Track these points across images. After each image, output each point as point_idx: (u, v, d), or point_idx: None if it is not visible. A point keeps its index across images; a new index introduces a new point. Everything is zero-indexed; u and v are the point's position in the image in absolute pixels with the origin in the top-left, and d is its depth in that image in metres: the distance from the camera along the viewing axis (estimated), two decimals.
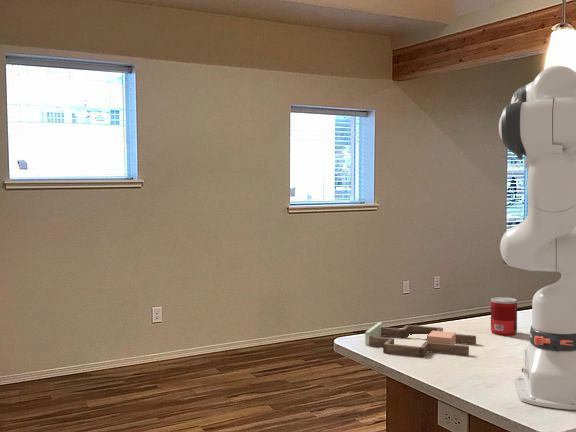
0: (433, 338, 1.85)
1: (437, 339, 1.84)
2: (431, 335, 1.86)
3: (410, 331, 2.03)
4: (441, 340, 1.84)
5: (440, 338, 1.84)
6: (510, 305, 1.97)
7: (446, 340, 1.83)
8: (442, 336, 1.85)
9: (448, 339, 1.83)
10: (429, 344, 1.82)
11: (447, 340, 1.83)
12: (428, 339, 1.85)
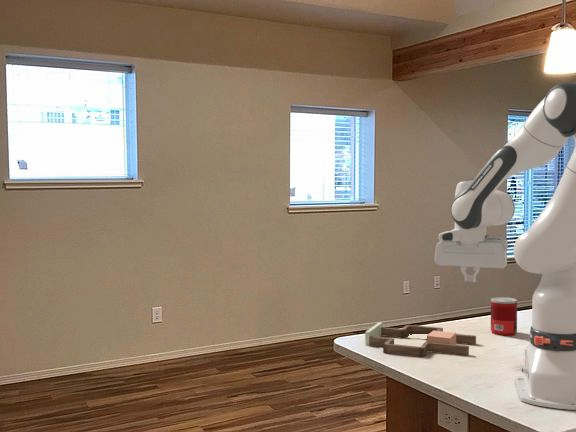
0: (432, 338, 1.85)
1: (436, 339, 1.84)
2: (431, 335, 1.86)
3: (410, 331, 2.03)
4: (440, 340, 1.84)
5: (439, 338, 1.84)
6: (510, 305, 1.97)
7: (445, 340, 1.83)
8: (442, 336, 1.85)
9: (447, 339, 1.83)
10: (429, 344, 1.82)
11: (446, 340, 1.83)
12: (428, 339, 1.86)
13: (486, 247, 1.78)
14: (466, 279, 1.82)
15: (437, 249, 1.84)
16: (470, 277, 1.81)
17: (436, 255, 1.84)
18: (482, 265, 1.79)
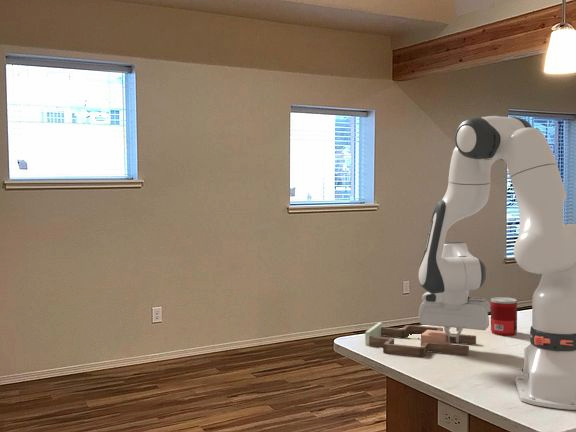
0: (426, 337, 1.86)
1: (430, 338, 1.85)
2: (425, 334, 1.87)
3: (410, 331, 2.03)
4: (434, 339, 1.84)
5: (433, 337, 1.85)
6: (510, 305, 1.97)
7: (439, 339, 1.84)
8: (436, 335, 1.85)
9: (441, 338, 1.83)
10: (429, 344, 1.82)
11: (440, 339, 1.84)
12: (422, 338, 1.86)
13: (468, 309, 1.82)
14: (449, 339, 1.86)
15: (421, 309, 1.87)
16: (453, 337, 1.85)
17: (420, 315, 1.88)
18: (465, 326, 1.82)
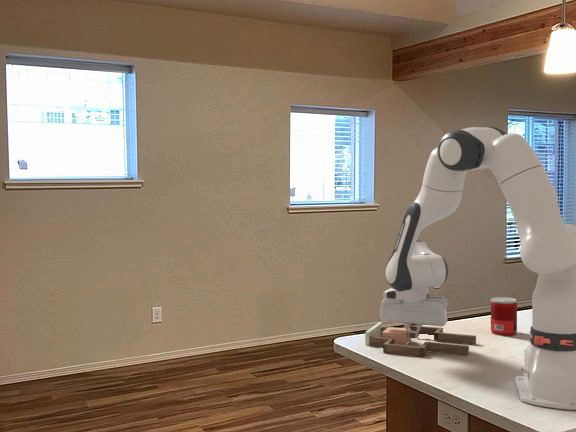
0: (388, 334, 1.90)
1: (392, 335, 1.90)
2: (386, 331, 1.92)
3: None
4: (395, 336, 1.89)
5: (394, 334, 1.89)
6: (510, 305, 1.97)
7: (400, 336, 1.89)
8: (396, 332, 1.90)
9: (402, 335, 1.88)
10: (429, 344, 1.82)
11: (401, 336, 1.89)
12: (383, 335, 1.91)
13: (427, 306, 1.87)
14: (409, 335, 1.91)
15: (382, 306, 1.93)
16: (413, 333, 1.90)
17: (381, 311, 1.93)
18: (423, 323, 1.88)
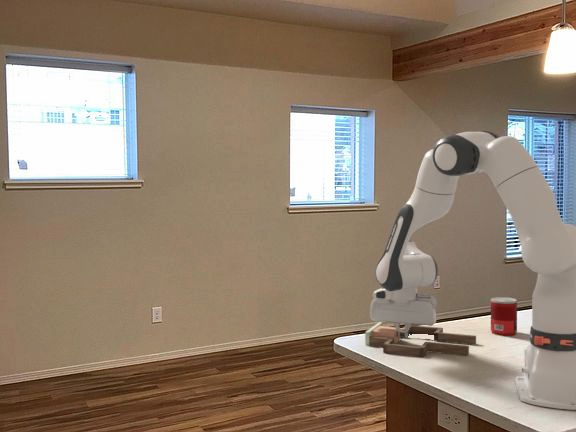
0: (377, 333, 1.92)
1: (381, 334, 1.91)
2: (376, 330, 1.93)
3: (410, 331, 2.03)
4: (385, 335, 1.91)
5: (384, 333, 1.91)
6: (510, 305, 1.97)
7: (389, 335, 1.90)
8: (386, 331, 1.92)
9: (391, 334, 1.90)
10: (429, 344, 1.82)
11: (390, 335, 1.90)
12: (373, 334, 1.92)
13: (416, 305, 1.88)
14: (399, 335, 1.92)
15: (372, 306, 1.94)
16: (402, 333, 1.92)
17: (371, 311, 1.94)
18: (413, 322, 1.89)
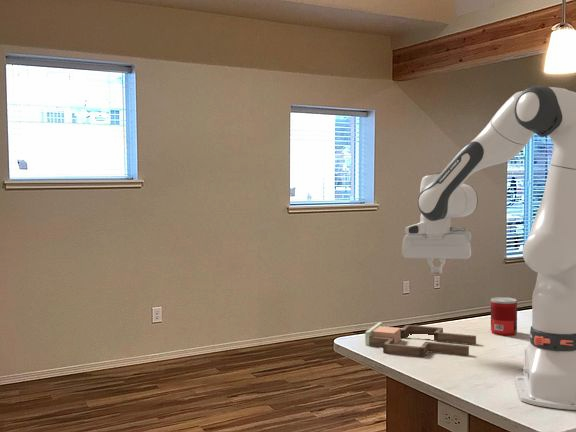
0: (377, 333, 1.92)
1: (381, 334, 1.91)
2: (376, 330, 1.93)
3: (410, 331, 2.03)
4: (385, 335, 1.91)
5: (384, 333, 1.91)
6: (510, 305, 1.97)
7: (390, 335, 1.90)
8: (386, 331, 1.92)
9: (391, 334, 1.90)
10: (429, 344, 1.82)
11: (390, 335, 1.90)
12: (373, 334, 1.93)
13: (451, 239, 1.83)
14: (433, 270, 1.87)
15: (404, 242, 1.89)
16: (436, 268, 1.87)
17: (403, 248, 1.89)
18: (447, 256, 1.84)
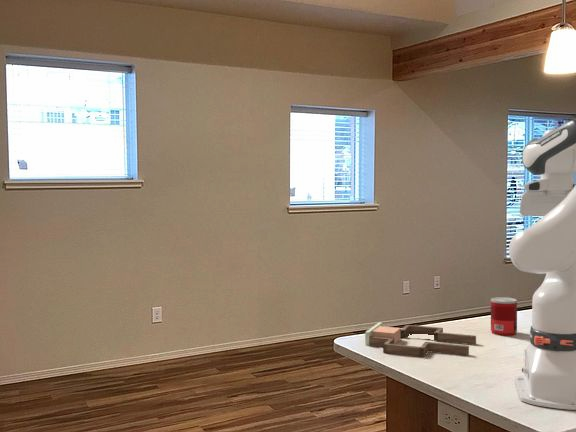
0: (377, 333, 1.92)
1: (381, 334, 1.91)
2: (376, 330, 1.93)
3: (410, 331, 2.03)
4: (385, 335, 1.91)
5: (384, 333, 1.91)
6: (510, 305, 1.97)
7: (390, 335, 1.90)
8: (386, 331, 1.92)
9: (391, 334, 1.90)
10: (429, 344, 1.82)
11: (390, 335, 1.90)
12: (373, 334, 1.93)
13: None
14: None
15: (523, 199, 1.84)
16: None
17: (522, 205, 1.85)
18: None
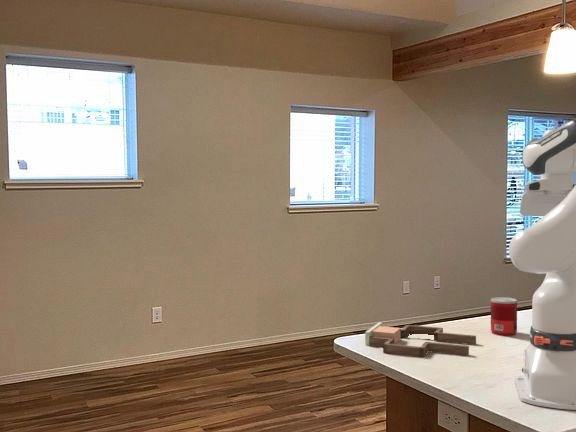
0: (377, 333, 1.92)
1: (381, 334, 1.91)
2: (376, 330, 1.93)
3: (410, 331, 2.03)
4: (385, 335, 1.91)
5: (384, 333, 1.91)
6: (510, 305, 1.97)
7: (390, 335, 1.90)
8: (386, 331, 1.92)
9: (391, 334, 1.90)
10: (429, 344, 1.82)
11: (390, 335, 1.90)
12: (373, 334, 1.93)
13: None
14: None
15: (523, 199, 1.84)
16: None
17: (522, 205, 1.85)
18: None
